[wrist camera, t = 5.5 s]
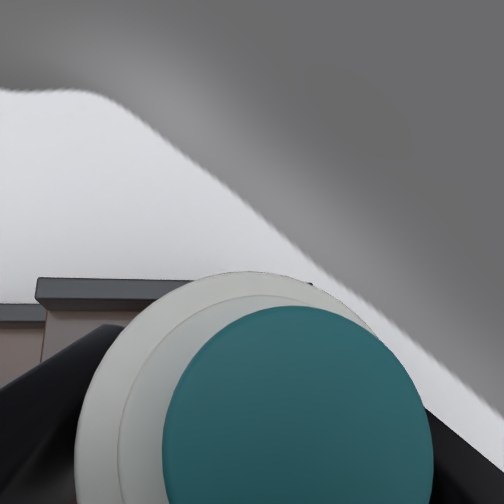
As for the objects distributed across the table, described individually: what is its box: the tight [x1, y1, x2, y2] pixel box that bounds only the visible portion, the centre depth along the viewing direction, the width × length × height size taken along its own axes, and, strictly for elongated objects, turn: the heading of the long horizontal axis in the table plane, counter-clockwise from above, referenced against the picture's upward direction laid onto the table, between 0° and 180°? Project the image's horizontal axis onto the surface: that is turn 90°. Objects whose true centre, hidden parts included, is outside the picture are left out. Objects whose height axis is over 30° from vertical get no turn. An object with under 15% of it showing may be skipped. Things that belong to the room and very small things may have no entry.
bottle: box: [74, 271, 434, 504], centre depth 8 cm, size 5×5×9 cm
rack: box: [0, 277, 313, 504], centre depth 15 cm, size 8×19×6 cm, turn 92°
